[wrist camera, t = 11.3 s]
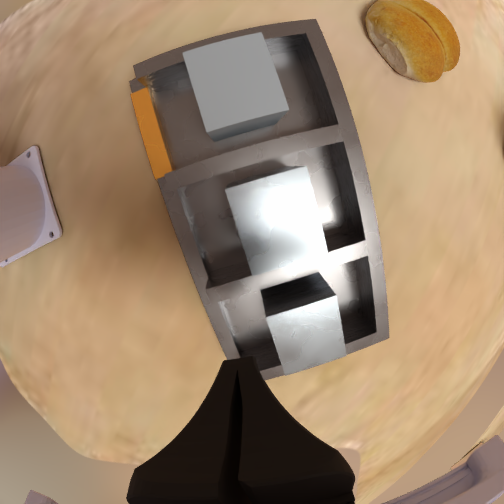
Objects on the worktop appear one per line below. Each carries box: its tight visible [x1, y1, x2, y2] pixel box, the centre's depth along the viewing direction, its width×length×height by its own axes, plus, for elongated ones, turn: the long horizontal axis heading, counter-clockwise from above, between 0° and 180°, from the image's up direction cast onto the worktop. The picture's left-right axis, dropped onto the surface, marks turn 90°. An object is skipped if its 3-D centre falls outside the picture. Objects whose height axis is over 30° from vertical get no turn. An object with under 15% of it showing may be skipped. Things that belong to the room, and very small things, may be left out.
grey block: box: [182, 32, 289, 142], centre depth 14 cm, size 4×4×5 cm
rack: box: [129, 19, 389, 380], centre depth 17 cm, size 12×22×6 cm, turn 17°
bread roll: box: [365, 0, 460, 83], centre depth 14 cm, size 8×9×4 cm
